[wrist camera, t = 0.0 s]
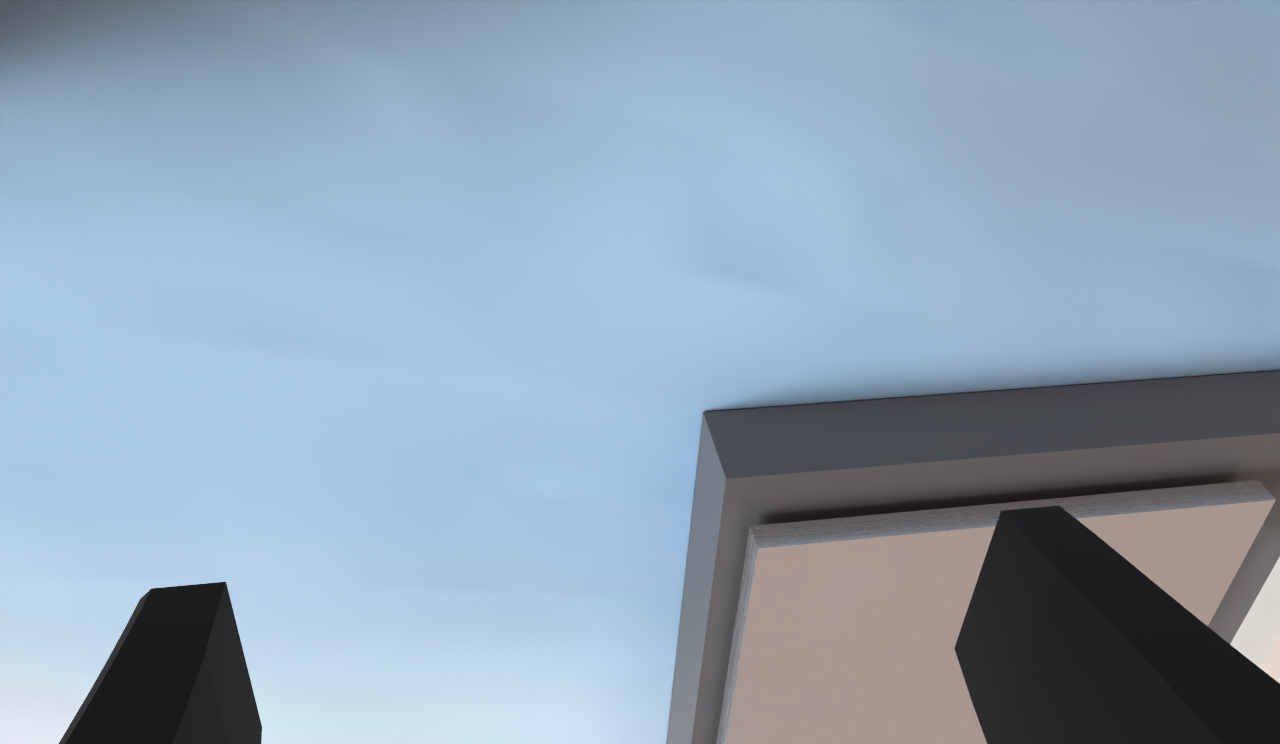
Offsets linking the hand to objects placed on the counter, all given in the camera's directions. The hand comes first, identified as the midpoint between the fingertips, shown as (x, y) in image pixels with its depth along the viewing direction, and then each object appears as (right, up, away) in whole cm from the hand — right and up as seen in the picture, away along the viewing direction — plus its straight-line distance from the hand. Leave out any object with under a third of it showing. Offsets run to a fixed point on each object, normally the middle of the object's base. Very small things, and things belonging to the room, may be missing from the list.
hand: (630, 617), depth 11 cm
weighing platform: (+7, -4, +15) cm, 17 cm away
